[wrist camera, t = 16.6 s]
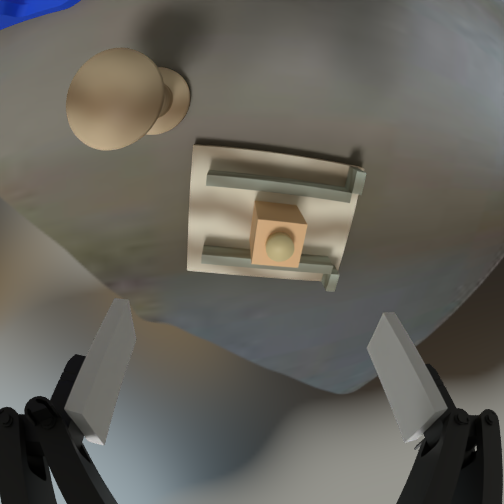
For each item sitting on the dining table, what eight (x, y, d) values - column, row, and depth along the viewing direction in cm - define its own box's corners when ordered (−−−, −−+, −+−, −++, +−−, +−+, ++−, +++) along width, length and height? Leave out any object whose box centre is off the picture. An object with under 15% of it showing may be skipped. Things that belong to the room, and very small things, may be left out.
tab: (254, 200, 33) (258, 223, 27) (296, 205, 34) (309, 228, 28) (249, 239, 36) (251, 268, 30) (289, 243, 36) (299, 272, 30)
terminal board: (194, 143, 31) (189, 148, 28) (360, 166, 33) (372, 173, 30) (188, 265, 38) (184, 281, 35) (332, 277, 40) (339, 292, 37)
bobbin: (127, 69, 26) (71, 55, 15) (194, 68, 27) (167, 44, 15) (122, 133, 30) (65, 151, 18) (187, 135, 31) (156, 150, 19)
